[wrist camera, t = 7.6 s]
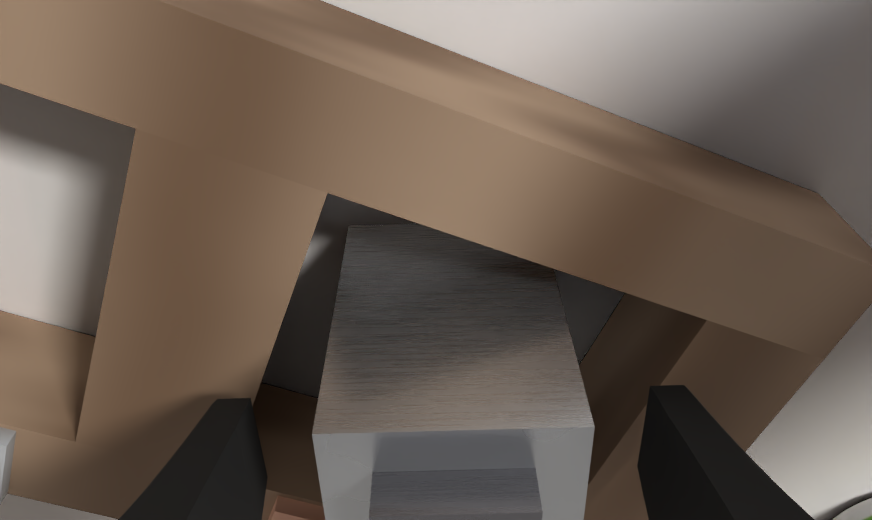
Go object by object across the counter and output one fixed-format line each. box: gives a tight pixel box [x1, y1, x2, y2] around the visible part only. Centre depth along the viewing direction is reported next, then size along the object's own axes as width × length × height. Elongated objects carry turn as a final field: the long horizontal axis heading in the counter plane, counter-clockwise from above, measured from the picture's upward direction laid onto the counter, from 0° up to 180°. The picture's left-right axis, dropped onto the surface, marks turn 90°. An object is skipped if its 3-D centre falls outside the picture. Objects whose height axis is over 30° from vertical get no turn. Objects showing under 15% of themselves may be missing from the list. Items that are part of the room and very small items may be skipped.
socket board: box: [0, 0, 872, 520], centre depth 14 cm, size 22×11×3 cm, turn 69°
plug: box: [312, 224, 595, 520], centre depth 14 cm, size 4×4×7 cm
